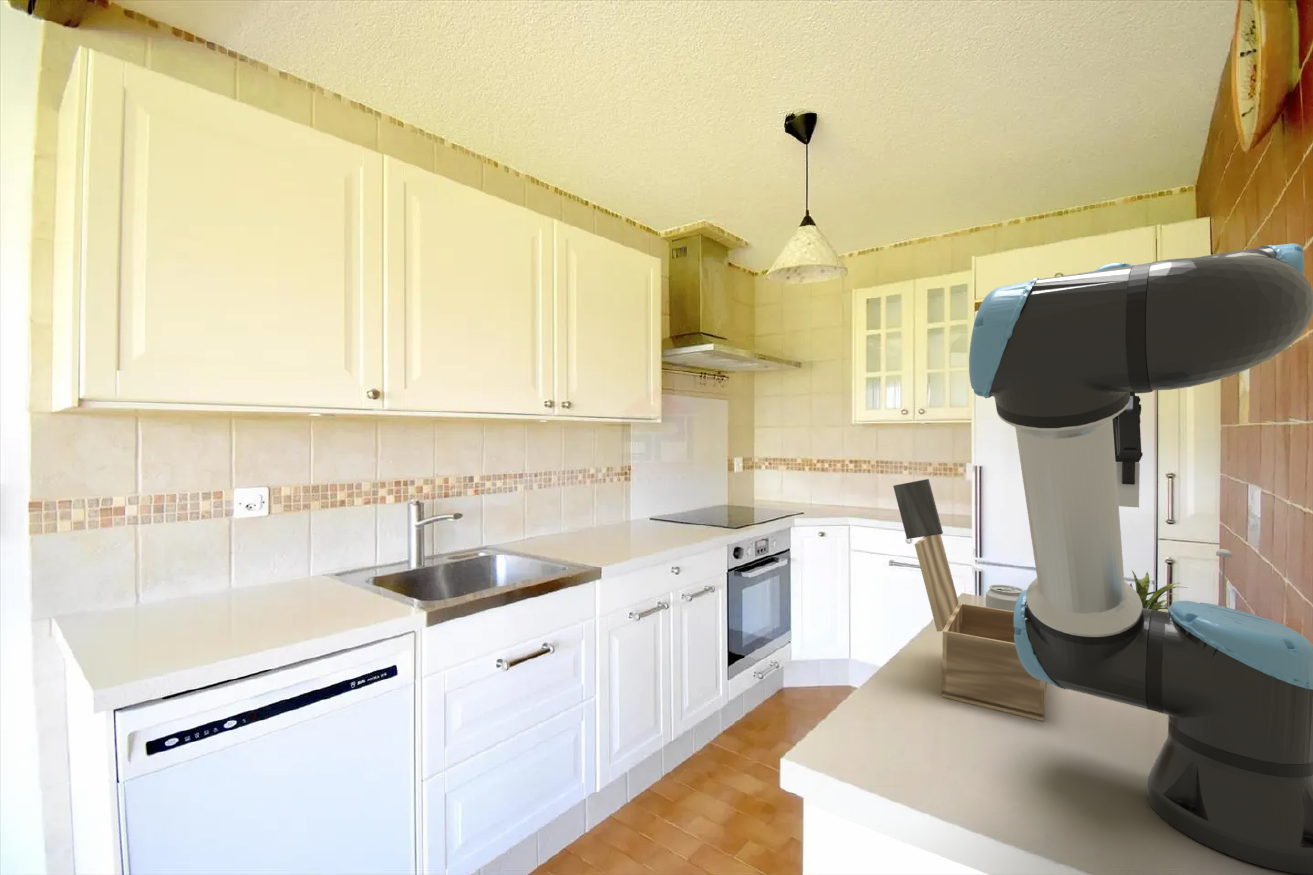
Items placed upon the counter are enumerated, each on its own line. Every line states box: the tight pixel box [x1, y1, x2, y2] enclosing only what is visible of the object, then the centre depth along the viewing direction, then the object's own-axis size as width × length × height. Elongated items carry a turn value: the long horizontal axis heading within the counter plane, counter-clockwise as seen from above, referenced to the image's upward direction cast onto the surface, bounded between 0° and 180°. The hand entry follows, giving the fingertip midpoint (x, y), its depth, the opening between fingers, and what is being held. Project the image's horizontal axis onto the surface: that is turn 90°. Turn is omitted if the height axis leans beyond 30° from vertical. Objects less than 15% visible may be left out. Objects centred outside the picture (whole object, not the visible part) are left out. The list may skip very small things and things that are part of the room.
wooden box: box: [941, 602, 1047, 722], centre depth 101 cm, size 20×14×11 cm
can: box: [985, 584, 1024, 611], centre depth 120 cm, size 8×8×12 cm
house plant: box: [1129, 570, 1187, 611], centre depth 116 cm, size 14×14×16 cm
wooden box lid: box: [892, 478, 960, 632], centre depth 107 cm, size 20×24×6 cm
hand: (1121, 502), depth 93 cm, fingers open, 13 cm apart
